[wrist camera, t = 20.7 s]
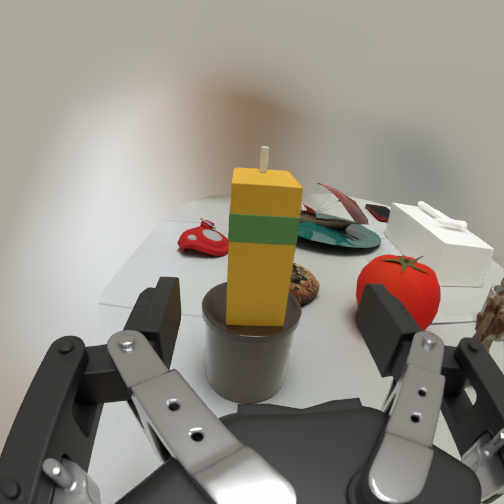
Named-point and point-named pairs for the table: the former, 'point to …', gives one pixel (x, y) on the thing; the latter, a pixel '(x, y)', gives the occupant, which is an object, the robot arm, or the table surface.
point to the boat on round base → (337, 225)
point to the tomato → (405, 285)
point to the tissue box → (439, 244)
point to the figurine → (491, 320)
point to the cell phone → (379, 212)
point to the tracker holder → (204, 239)
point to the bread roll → (303, 284)
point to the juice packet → (261, 244)
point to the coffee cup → (246, 350)
